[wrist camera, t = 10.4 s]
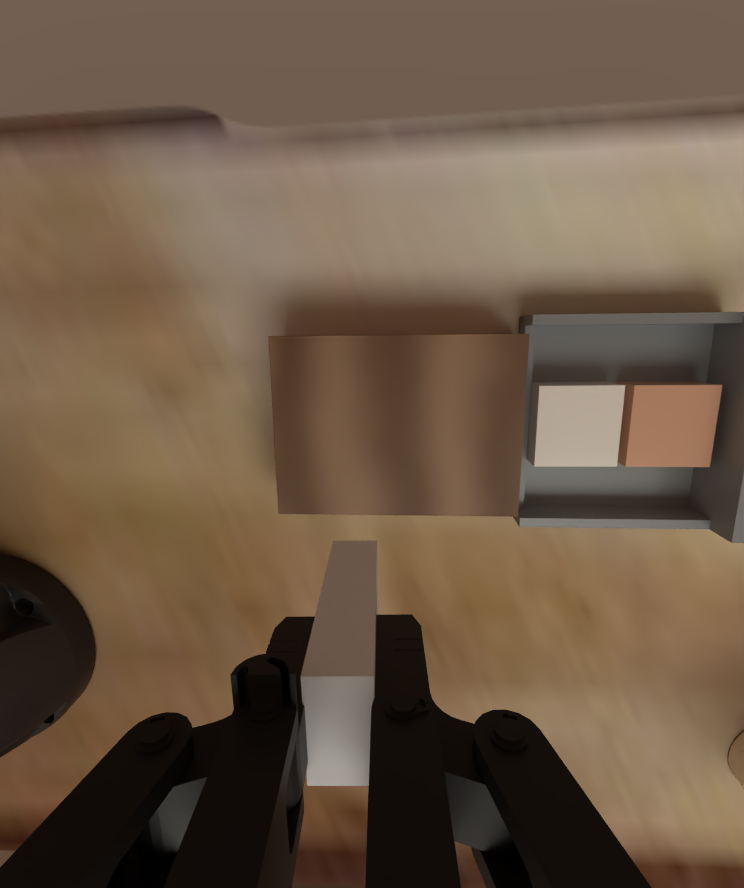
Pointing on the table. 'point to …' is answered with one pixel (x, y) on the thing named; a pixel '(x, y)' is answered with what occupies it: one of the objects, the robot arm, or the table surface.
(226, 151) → the table surface
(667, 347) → the tray
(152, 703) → the table surface
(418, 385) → the walnut board
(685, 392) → the terracotta tile
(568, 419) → the cream tile
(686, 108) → the table surface
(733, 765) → the utensil holder
